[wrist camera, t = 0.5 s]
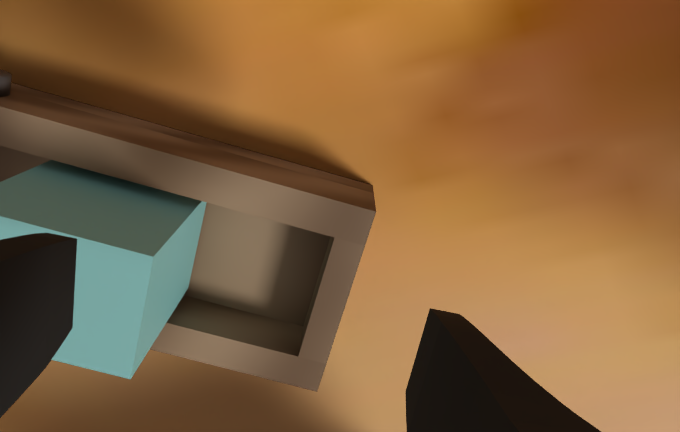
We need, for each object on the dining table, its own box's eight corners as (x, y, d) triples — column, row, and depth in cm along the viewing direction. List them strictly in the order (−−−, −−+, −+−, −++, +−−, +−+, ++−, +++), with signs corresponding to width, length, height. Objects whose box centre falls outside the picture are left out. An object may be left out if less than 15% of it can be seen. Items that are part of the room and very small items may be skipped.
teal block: (208, 193, 19) (153, 257, 14) (188, 287, 20) (130, 379, 15) (64, 153, 18) (-49, 203, 13) (53, 252, 20) (-55, 333, 14)
